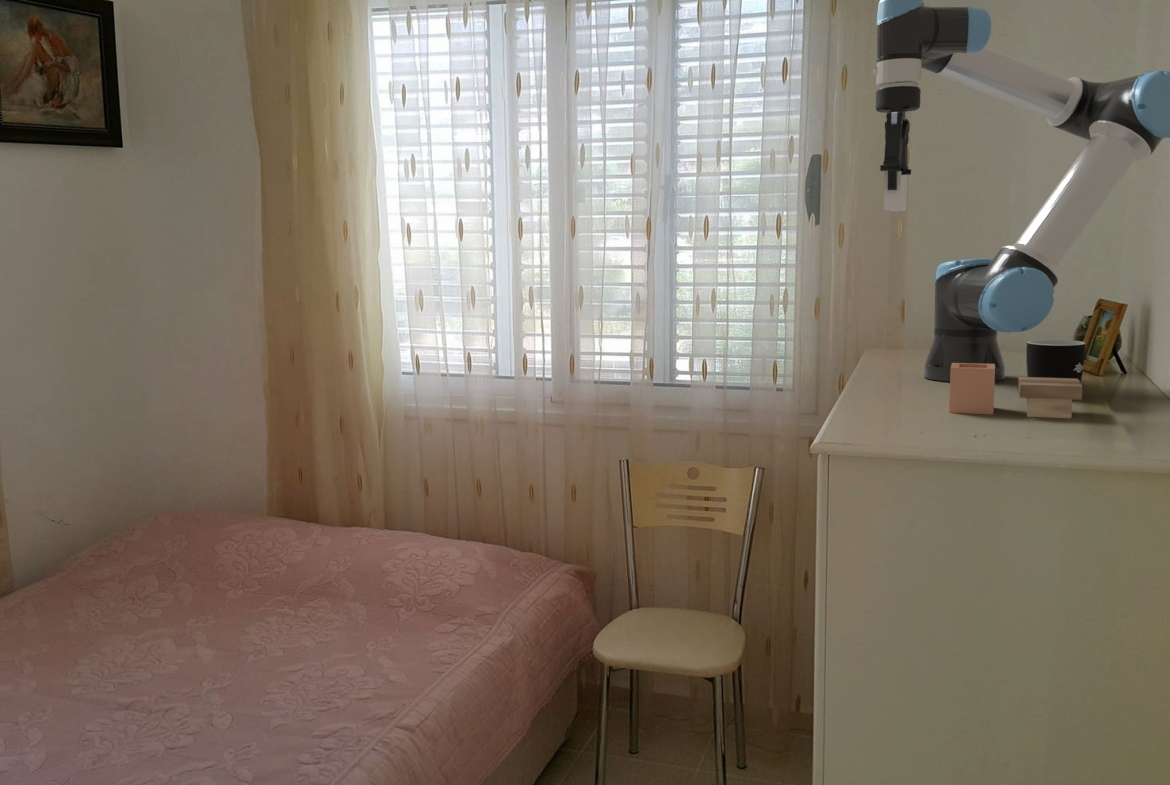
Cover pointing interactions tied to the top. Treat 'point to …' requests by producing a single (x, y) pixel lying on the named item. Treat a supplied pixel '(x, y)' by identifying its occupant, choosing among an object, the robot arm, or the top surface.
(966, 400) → the tan hollow square block
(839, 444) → the top surface
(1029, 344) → the mug
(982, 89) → the robot arm
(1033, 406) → the block
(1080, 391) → the lid
